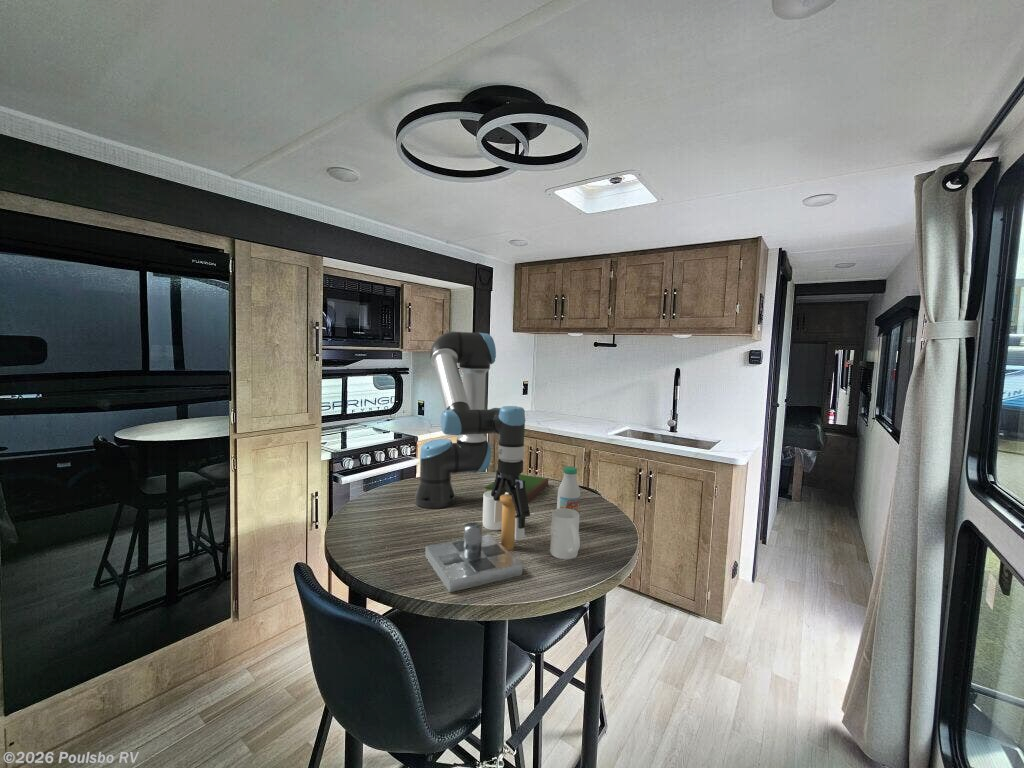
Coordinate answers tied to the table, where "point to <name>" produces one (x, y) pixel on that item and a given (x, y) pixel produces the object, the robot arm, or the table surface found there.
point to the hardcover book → (528, 486)
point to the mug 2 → (565, 533)
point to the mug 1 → (490, 512)
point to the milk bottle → (569, 490)
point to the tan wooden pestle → (508, 521)
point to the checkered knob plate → (472, 560)
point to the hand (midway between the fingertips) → (508, 529)
